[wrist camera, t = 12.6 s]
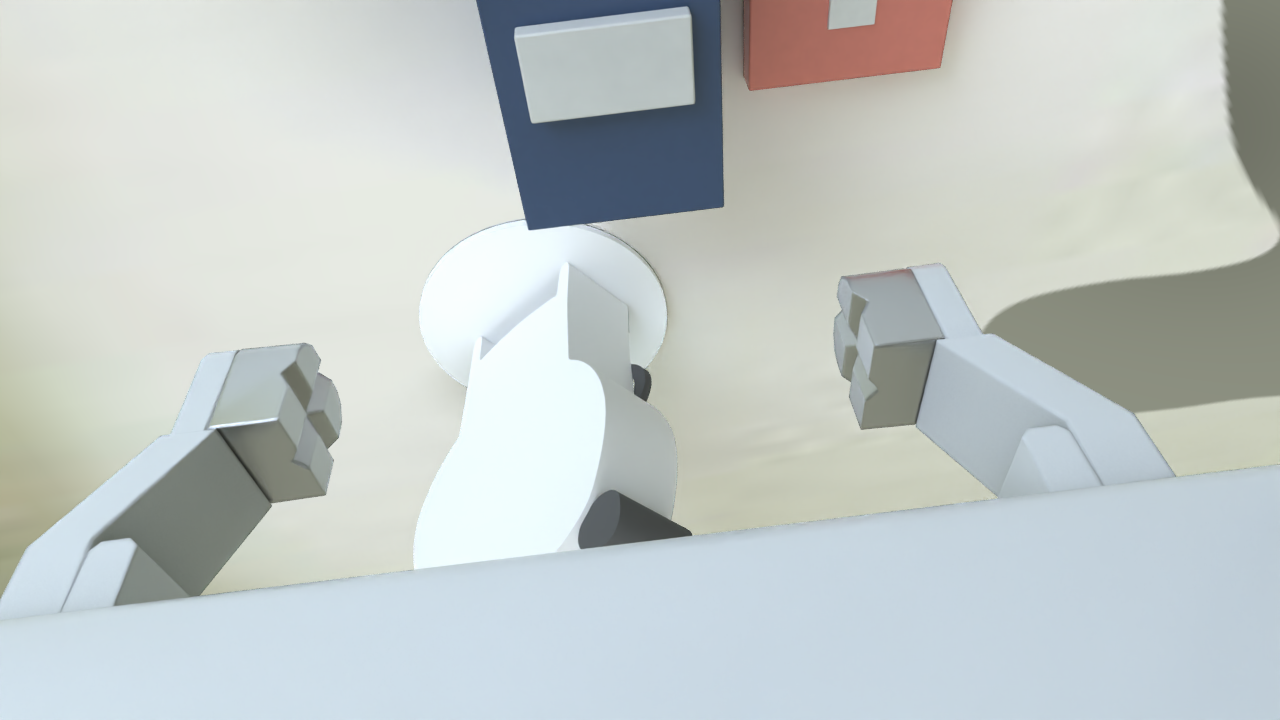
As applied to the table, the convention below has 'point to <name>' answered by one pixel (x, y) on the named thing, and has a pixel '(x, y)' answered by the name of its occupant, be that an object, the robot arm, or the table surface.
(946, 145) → the table surface
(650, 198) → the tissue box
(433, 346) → the panda figurine
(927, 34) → the tissue packet
